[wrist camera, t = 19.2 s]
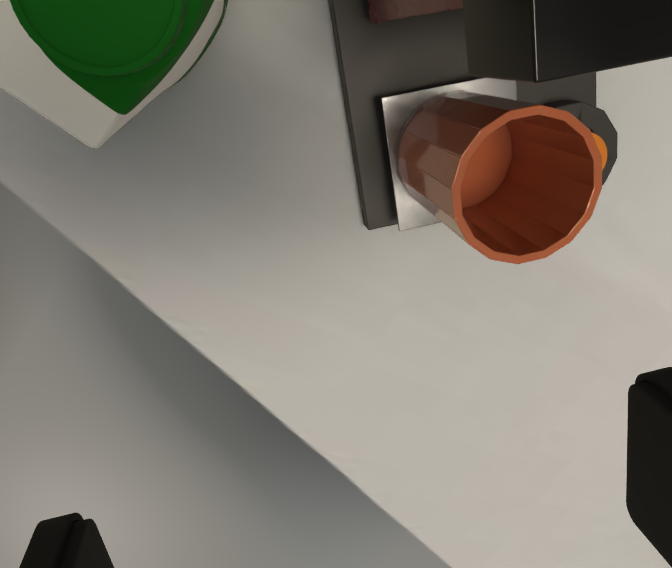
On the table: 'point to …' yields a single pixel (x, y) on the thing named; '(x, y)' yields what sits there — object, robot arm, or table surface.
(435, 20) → the base
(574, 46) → the coffee maker
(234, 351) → the table surface
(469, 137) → the cup
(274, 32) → the table surface
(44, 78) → the milk carton
